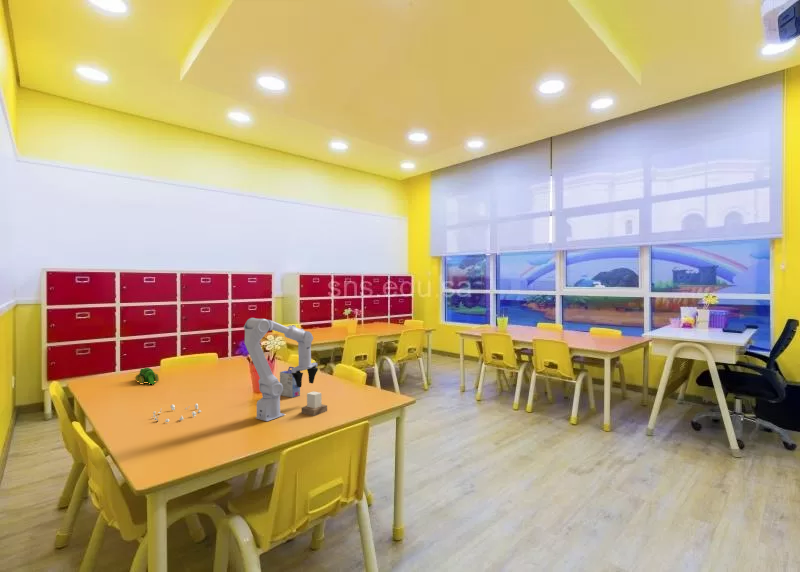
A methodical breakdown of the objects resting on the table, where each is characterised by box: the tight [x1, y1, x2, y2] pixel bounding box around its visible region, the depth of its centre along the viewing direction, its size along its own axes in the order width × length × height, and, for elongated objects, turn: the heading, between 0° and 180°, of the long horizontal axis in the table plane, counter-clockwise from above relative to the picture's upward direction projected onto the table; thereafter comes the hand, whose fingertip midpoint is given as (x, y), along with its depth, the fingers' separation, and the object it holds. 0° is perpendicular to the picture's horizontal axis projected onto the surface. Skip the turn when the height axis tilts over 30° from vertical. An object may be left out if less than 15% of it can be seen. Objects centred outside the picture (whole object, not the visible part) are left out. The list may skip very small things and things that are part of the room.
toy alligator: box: [135, 367, 160, 385], centre depth 239 cm, size 10×32×9 cm, turn 45°
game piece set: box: [150, 403, 202, 423], centre depth 176 cm, size 19×20×4 cm
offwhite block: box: [306, 391, 323, 409], centre depth 177 cm, size 4×5×6 cm
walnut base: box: [301, 403, 328, 417], centre depth 177 cm, size 8×8×3 cm
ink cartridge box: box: [279, 366, 301, 398], centre depth 204 cm, size 10×6×14 cm, turn 58°
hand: (305, 385), depth 186 cm, fingers open, 7 cm apart
